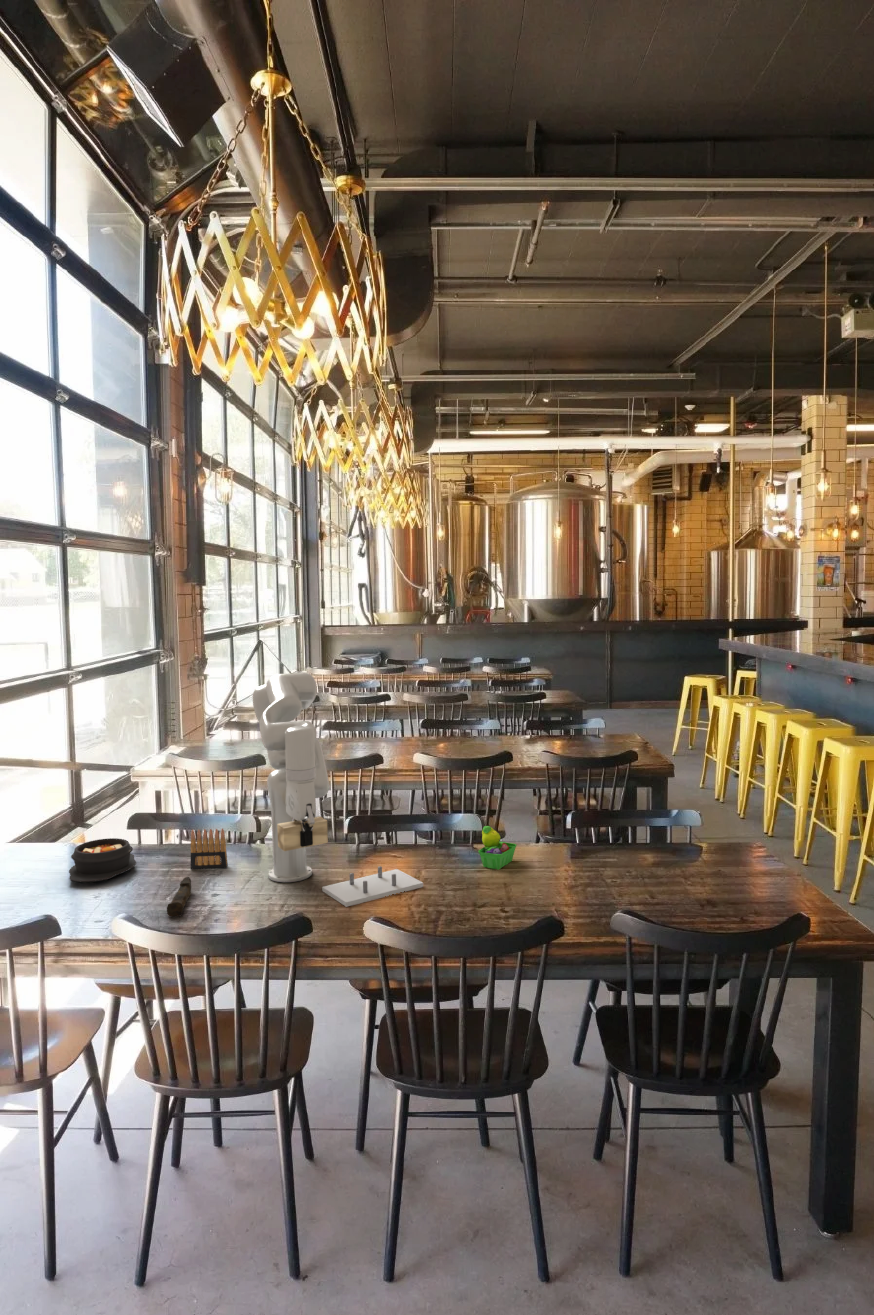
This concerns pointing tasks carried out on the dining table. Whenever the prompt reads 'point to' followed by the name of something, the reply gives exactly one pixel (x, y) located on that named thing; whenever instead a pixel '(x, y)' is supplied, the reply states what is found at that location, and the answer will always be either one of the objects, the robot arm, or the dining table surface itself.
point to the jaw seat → (371, 887)
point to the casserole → (101, 860)
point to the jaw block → (291, 834)
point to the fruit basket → (495, 850)
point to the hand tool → (180, 898)
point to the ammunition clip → (208, 851)
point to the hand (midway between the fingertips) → (302, 842)
